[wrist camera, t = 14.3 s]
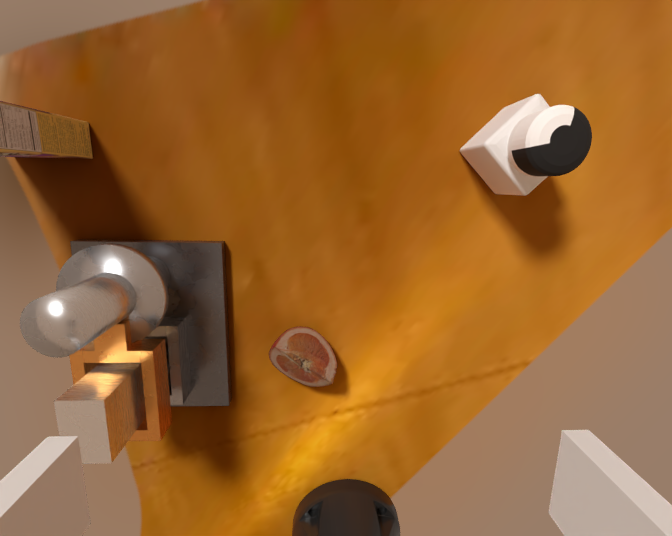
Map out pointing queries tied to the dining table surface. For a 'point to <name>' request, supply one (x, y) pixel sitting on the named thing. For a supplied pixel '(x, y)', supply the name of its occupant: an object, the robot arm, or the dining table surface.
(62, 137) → the candy box
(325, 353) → the fruit slice
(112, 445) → the rectangular block
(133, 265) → the grey press stand
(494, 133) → the medicine bottle
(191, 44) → the dining table surface
